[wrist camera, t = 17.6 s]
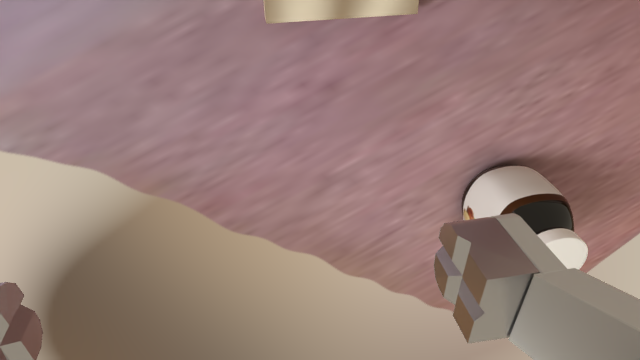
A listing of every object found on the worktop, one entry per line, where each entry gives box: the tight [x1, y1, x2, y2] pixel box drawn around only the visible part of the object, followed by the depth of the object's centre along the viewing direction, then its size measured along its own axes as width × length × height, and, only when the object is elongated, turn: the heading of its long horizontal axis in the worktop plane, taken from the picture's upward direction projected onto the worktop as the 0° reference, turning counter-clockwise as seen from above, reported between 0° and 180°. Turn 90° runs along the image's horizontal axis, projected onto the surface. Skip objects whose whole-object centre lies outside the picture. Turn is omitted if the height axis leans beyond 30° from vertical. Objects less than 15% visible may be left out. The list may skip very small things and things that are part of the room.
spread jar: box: [462, 165, 588, 270], centre depth 45 cm, size 12×11×12 cm
